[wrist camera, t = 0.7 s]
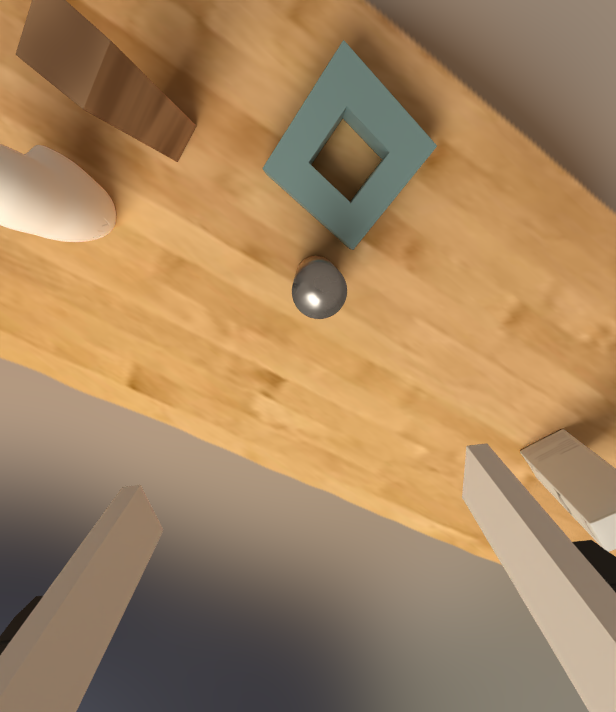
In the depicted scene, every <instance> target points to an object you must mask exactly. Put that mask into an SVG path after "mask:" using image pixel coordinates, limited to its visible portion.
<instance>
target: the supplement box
mask: <svg viewBox="0 0 616 712" xmlns="http://www.w3.org/2000/svg"><path fill="white" fill-rule="evenodd" d="M520 453H521V454H522V456H523V457H524V458H525V460H526V461H527V463H528V464H529V466H530V468H531V469H532V471H533V473H534V474H535V476H536V478H537V479H538V480H539V481H540V482H541V483H542V484H543V485H544V486H545V487H546V488H547V489H548V491H549V492H550V493H551V494H552V495H553V496H554V497H555V498H556V499H557V500H558V501H559V502H560V503H561V505H562V506H563V507H564V508H565V509H566V510H567V511H568V512H569V513H570V514H571V515H572V516H573V517H574V518H575V519H576V520H577V521H578V523H579V524H580V525H581V526H582V527H583V528H584V529H585V530H586V531H587V532H588V533H589V534H590V535H591V536H592V537H593V538H594V539H595V540H596V542H597V543H598V544H599V545H600V546H601V547H602V548H604V549H605V550H606V551H608V552H609V551H612V550H615V549H616V469H615V468H614V467H613V466H611V465H610V464H609V463H607V462H606V461H605V460H603V459H602V458H601V457H599V456H598V455H597V454H596V453H594V452H593V451H592V450H590V449H589V448H588V447H586V446H585V445H584V444H583V443H581V442H580V441H579V440H577V439H576V438H575V437H573V436H572V435H571V434H569V433H568V432H567V431H566V430H564V429H562V430H560V431H558V432H556V433H554V434H552V435H550V436H548V437H546V438H544V439H542V440H540V441H538V442H536V443H534V444H532V445H530V446H528V447H526V448H524V449H523V450H521V451H520Z"/></svg>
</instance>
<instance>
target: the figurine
mask: <svg viewBox="0 0 616 712" xmlns="http://www.w3.org/2000/svg"><path fill="white" fill-rule="evenodd" d="M115 223H116V210H115V206H114V203H113V201H112V199H111V197H110V196H109V194H108V193H107V192H106V191H105V190H104V189H103V188H102V187H101V186H100V185H99V184H98V183H97V182H96V181H95V180H94V179H93V178H92V177H90V176H89V175H88V174H87V173H86V172H85V171H84V170H83V169H82V168H80V167H79V166H78V165H77V164H75V163H74V162H73V161H71V160H70V159H68V158H67V157H65V156H63V155H62V154H60V153H58V152H56V151H54V150H52V149H50V148H48V147H46V146H43V145H36V146H34V147H33V148H32V149H31V150H30V151H29V152H28V153H26V154H22V153H20V152H18V151H15V150H13V149H11V148H9V147H6V146H4V145H1V144H0V225H1V226H4V227H7V228H10V229H13V230H17V231H21V232H26V233H30V234H35V235H38V236H41V237H44V238H48V239H53V240H58V241H66V242H84V241H91V240H95V239H99V238H101V237H104V236H105V235H107V234H109V233H110V232H111V231H112V229H113V228H114V226H115Z"/></svg>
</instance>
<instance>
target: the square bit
mask: <svg viewBox="0 0 616 712" xmlns="http://www.w3.org/2000/svg"><path fill="white" fill-rule="evenodd" d="M16 55H17V56H18V57H19V58H20V59H22V60H23V61H24V62H25V63H27V64H28V65H29V66H30V67H32V68H33V69H34V70H35V71H36V72H38V73H39V74H40V75H41V76H43V77H44V78H45V79H46V80H48V81H49V82H50V83H51V84H53V85H54V86H55V87H56V88H58V89H59V90H60V91H61V92H62V93H64V94H65V95H66V96H67V97H69V98H70V99H71V100H72V101H74V102H75V103H76V104H77V105H79V106H80V107H81V108H82V109H84V110H85V111H87V112H89V113H91V114H93V115H94V116H96V117H98V118H100V119H101V120H103V121H105V122H107V123H109V124H110V125H112V126H114V127H116V128H118V129H119V130H121V131H123V132H125V133H126V134H128V135H130V136H132V137H134V138H135V139H137V140H139V141H141V142H142V143H144V144H146V145H148V146H150V147H151V148H153V149H155V150H157V151H159V152H160V153H162V154H164V155H166V156H167V157H169V158H171V159H173V160H175V161H176V162H178V160H179V158H180V157H181V155H182V153H183V151H184V149H185V147H186V145H187V143H188V141H189V139H190V138H191V136H192V134H193V132H194V130H195V128H196V125H195V124H194V123H193V122H192V121H191V120H190V119H189V118H188V117H187V116H186V115H185V114H184V113H183V112H182V111H181V110H180V109H179V108H178V107H177V106H176V105H175V104H174V103H173V102H172V101H171V100H170V99H169V98H168V97H167V96H166V95H165V94H164V93H163V92H162V91H161V90H160V89H159V88H158V87H157V86H156V85H155V84H154V83H153V82H152V81H151V80H150V79H149V78H148V77H147V76H146V75H145V74H144V73H143V72H142V71H141V70H140V69H139V68H138V67H137V66H136V65H135V64H134V63H133V62H132V61H131V60H130V59H129V58H128V57H127V56H126V55H125V54H124V53H123V52H122V51H121V50H120V49H119V48H118V47H117V46H116V45H115V44H114V43H113V42H112V41H110V40H109V39H108V38H107V37H106V36H105V35H104V34H103V33H102V32H100V31H99V30H98V29H97V28H96V27H95V26H94V25H93V24H91V23H90V22H89V21H88V20H87V19H86V18H85V17H84V16H82V15H81V14H80V13H79V12H78V11H77V10H76V9H75V8H73V7H72V6H71V5H70V4H69V3H68V2H67V1H66V0H32V3H31V6H30V9H29V12H28V16H27V19H26V22H25V25H24V29H23V32H22V35H21V39H20V42H19V45H18V48H17V52H16Z"/></svg>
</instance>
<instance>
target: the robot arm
mask: <svg viewBox="0 0 616 712" xmlns="http://www.w3.org/2000/svg"><path fill="white" fill-rule="evenodd" d="M462 498H463V499H464V501H465V503H466V505H467V506H468V508H469V510H470V511H471V513H472V515H473V516H474V518H475V520H476V521H477V523H478V525H479V526H480V528H481V530H482V532H483V533H484V535H485V537H486V538H487V540H488V542H489V543H490V545H491V547H492V548H493V550H494V552H495V553H496V555H497V557H498V559H499V560H500V562H501V564H502V565H503V567H504V569H505V570H506V572H507V574H508V575H509V577H510V579H511V580H512V582H513V584H514V585H515V587H516V589H517V591H518V592H519V594H520V596H521V597H522V599H523V601H524V602H525V604H526V606H527V607H528V609H529V611H530V612H531V614H532V616H533V617H534V619H535V621H536V623H537V624H538V626H539V628H540V629H541V631H542V633H543V634H544V636H545V638H546V639H547V641H548V643H549V644H550V646H551V648H552V650H553V651H554V653H555V655H556V656H557V658H558V660H559V661H560V663H561V665H562V666H563V668H564V670H565V671H566V673H567V675H568V677H569V678H570V680H571V682H572V683H573V685H574V687H575V688H576V690H577V692H578V693H579V695H580V697H581V698H582V700H583V702H584V704H585V705H586V707H587V709H588V710H589V712H616V557H615V556H614V555H612V554H611V553H609V552H608V551H606V550H605V549H604V548H602V547H601V546H599V545H598V544H597V543H595V542H594V541H592V540H587V541H577V542H571V540H570V539H569V538H568V537H567V536H566V535H565V533H564V532H563V531H562V530H561V529H560V528H559V526H558V525H557V524H556V523H555V522H554V521H553V520H552V518H551V517H550V516H549V515H548V514H547V513H546V511H545V510H544V509H543V508H542V507H541V506H540V504H539V503H538V502H537V501H536V500H535V499H534V498H533V496H532V495H531V494H530V493H529V492H528V491H527V489H526V488H525V487H524V486H523V485H522V484H521V482H520V481H519V480H518V479H517V478H516V477H515V475H514V474H513V473H512V472H511V471H510V470H509V469H508V467H507V466H506V465H505V464H504V463H503V462H502V460H501V459H500V458H499V457H498V456H497V455H496V453H495V452H494V451H493V450H492V449H491V448H490V447H489V445H488V444H479V445H470V446H467V447H466V459H465V471H464V482H463V494H462ZM162 532H163V528H162V526H161V524H160V522H159V521H158V518H157V516H156V514H155V512H154V510H153V508H152V507H151V505H150V503H149V501H148V499H147V497H146V495H145V493H144V491H143V489H142V487H141V485H135V486H126V487H122V489H121V490H120V491H119V493H118V494H117V495H116V497H115V498H114V500H113V501H112V502H111V504H110V505H109V506H108V508H107V509H106V511H105V512H104V513H103V515H102V516H101V517H100V519H99V520H98V522H97V523H96V524H95V526H94V527H93V528H92V530H91V531H90V533H89V534H88V535H87V537H86V538H85V539H84V541H83V542H82V544H81V545H80V546H79V548H78V549H77V551H76V552H75V553H74V555H73V556H72V557H71V559H70V560H69V561H68V563H67V564H66V566H65V567H64V568H63V570H62V571H61V572H60V574H59V575H58V577H57V578H56V579H55V581H54V582H53V583H52V585H51V586H50V588H49V589H48V590H47V592H46V593H45V595H44V596H36V597H35V598H34V599H33V600H32V601H31V602H30V603H29V604H28V605H27V606H26V607H25V608H24V609H23V610H22V611H21V612H20V613H18V614H17V615H16V616H15V617H14V619H13V620H12V621H11V623H10V624H9V625H8V627H7V628H6V629H5V631H4V632H3V633H2V634H1V636H0V712H76V710H77V709H78V707H79V705H80V702H81V700H82V698H83V696H84V694H85V692H86V690H87V688H88V686H89V684H90V682H91V680H92V677H93V675H94V673H95V671H96V669H97V667H98V665H99V663H100V661H101V659H102V657H103V655H104V653H105V651H106V648H107V646H108V644H109V642H110V640H111V638H112V636H113V634H114V632H115V630H116V628H117V626H118V623H119V621H120V619H121V617H122V615H123V613H124V611H125V609H126V607H127V605H128V603H129V601H130V599H131V597H132V594H133V592H134V590H135V588H136V586H137V584H138V582H139V580H140V578H141V576H142V574H143V572H144V570H145V567H146V566H147V563H148V561H149V559H150V557H151V555H152V553H153V551H154V549H155V547H156V545H157V543H158V540H159V538H160V536H161V534H162Z"/></svg>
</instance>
